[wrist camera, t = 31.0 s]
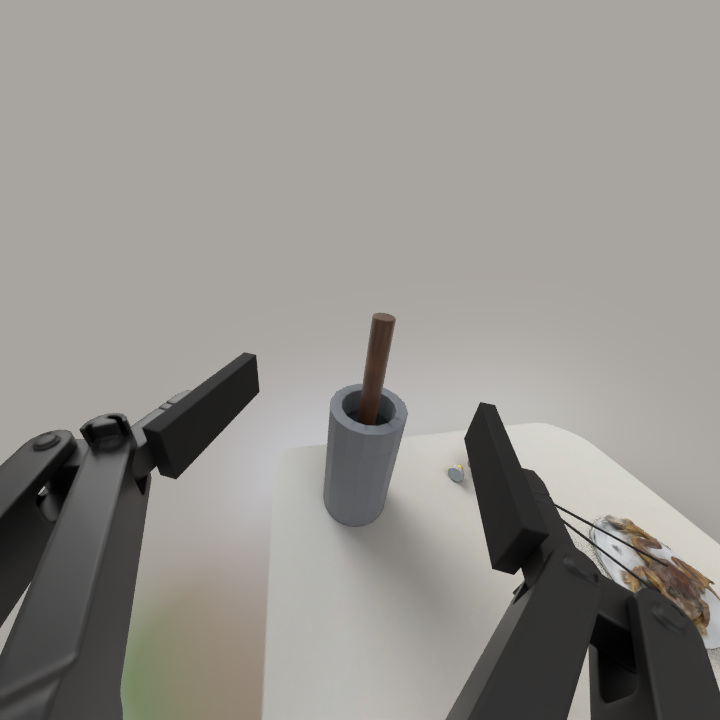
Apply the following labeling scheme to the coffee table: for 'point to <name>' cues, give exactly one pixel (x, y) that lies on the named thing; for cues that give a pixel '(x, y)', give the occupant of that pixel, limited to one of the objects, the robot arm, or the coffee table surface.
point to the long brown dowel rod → (375, 367)
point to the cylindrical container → (361, 456)
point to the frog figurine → (658, 573)
